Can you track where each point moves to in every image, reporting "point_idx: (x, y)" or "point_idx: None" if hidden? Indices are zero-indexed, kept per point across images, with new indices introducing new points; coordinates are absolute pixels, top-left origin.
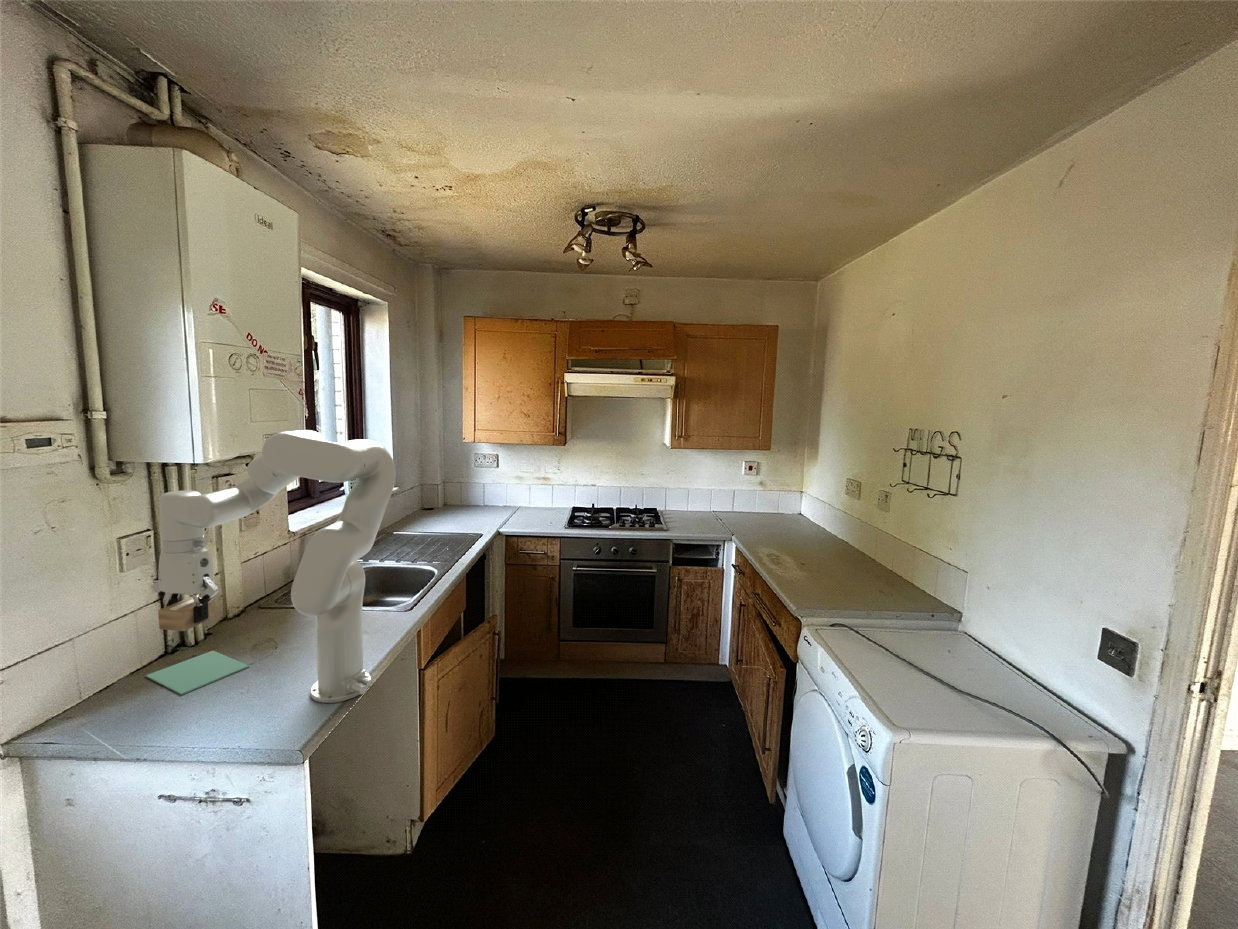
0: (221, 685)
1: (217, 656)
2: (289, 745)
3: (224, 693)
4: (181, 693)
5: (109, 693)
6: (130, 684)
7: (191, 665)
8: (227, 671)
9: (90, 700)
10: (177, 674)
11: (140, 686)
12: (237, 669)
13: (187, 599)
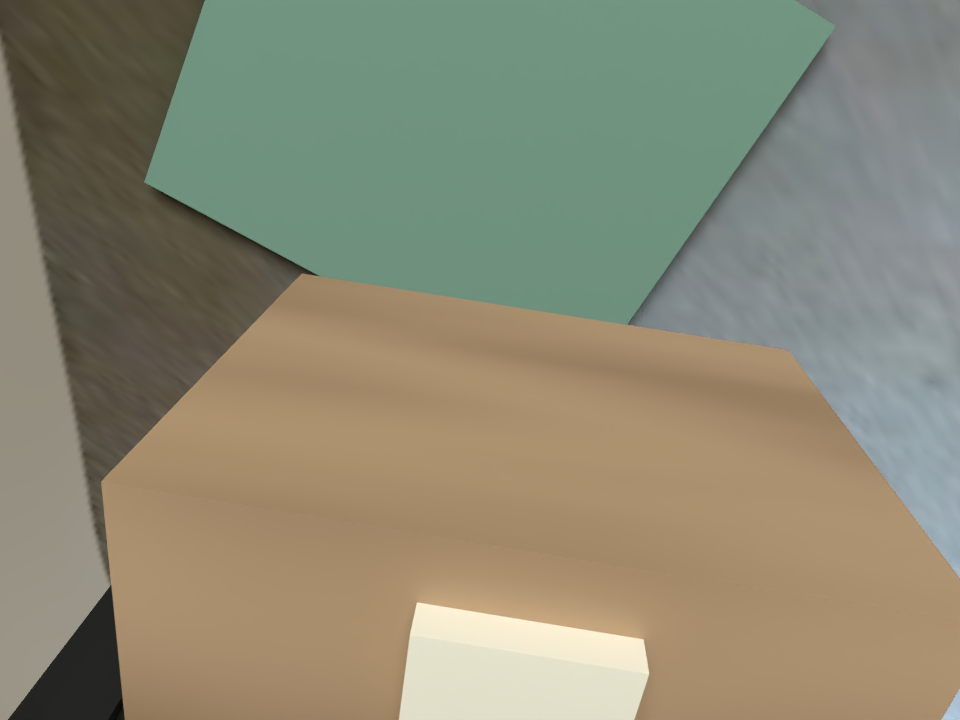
0: (742, 287)
1: None
2: None
3: (816, 380)
4: None
5: (121, 354)
6: (137, 259)
7: (344, 25)
8: (703, 131)
9: (97, 416)
10: (352, 173)
11: (222, 284)
12: (767, 95)
13: (196, 660)
